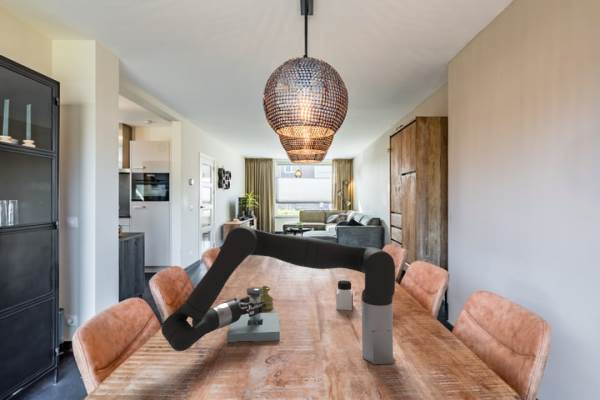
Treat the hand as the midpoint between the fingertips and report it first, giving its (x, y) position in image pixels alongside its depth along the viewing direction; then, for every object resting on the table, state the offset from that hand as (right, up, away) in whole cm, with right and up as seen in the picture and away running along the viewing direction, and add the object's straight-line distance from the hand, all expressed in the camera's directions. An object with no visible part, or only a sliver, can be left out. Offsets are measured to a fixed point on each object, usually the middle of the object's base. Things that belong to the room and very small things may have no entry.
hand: (257, 301), depth 113 cm
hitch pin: (0, -11, -1) cm, 11 cm away
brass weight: (0, -11, +22) cm, 25 cm away
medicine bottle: (+37, -11, +22) cm, 44 cm away
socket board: (0, -11, -1) cm, 11 cm away
